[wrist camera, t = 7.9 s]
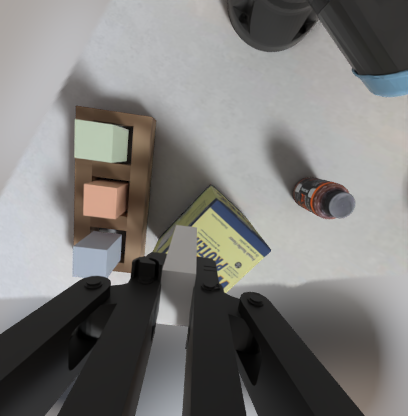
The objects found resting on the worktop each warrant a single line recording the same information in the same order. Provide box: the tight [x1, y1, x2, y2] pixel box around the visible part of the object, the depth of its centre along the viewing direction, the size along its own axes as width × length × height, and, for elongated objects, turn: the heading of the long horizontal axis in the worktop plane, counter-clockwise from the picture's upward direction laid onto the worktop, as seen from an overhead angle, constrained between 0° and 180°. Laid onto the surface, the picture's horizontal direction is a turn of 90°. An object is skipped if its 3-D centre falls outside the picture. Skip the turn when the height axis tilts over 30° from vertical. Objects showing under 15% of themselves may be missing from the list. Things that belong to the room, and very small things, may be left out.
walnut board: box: [74, 106, 156, 273], centre depth 42 cm, size 28×12×4 cm, turn 172°
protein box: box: [153, 185, 271, 293], centre depth 39 cm, size 10×16×16 cm
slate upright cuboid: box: [73, 231, 122, 278], centre depth 39 cm, size 5×5×7 cm
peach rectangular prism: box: [83, 179, 130, 219], centre depth 40 cm, size 5×5×7 cm
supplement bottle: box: [293, 177, 355, 219], centre depth 40 cm, size 6×6×11 cm
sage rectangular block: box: [74, 119, 129, 163], centre depth 35 cm, size 5×5×7 cm
